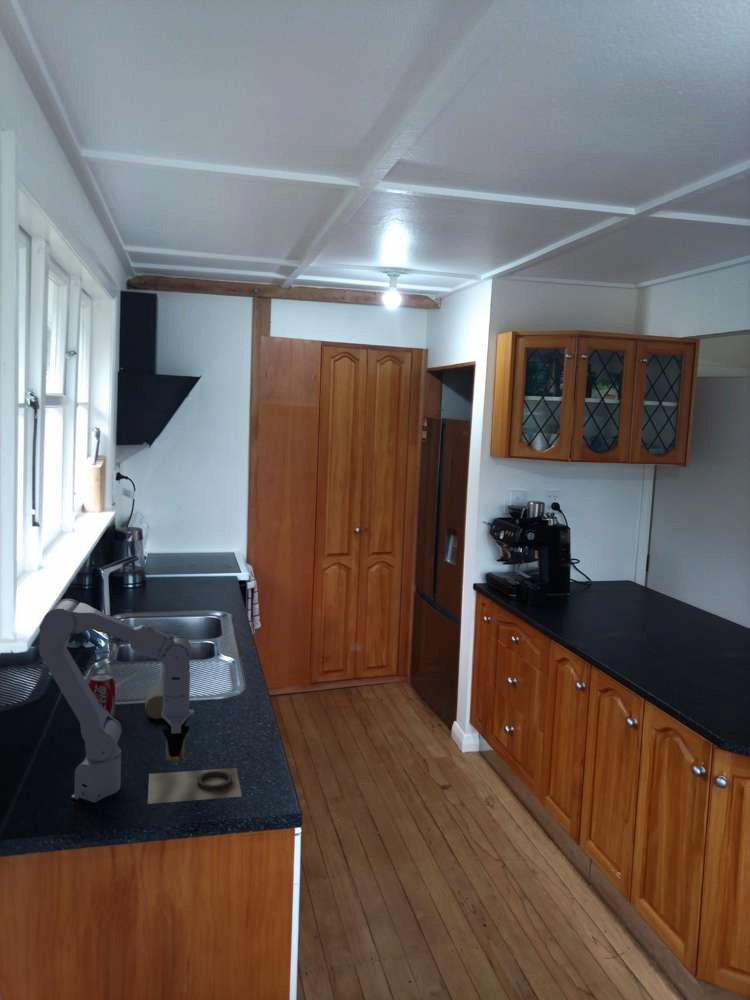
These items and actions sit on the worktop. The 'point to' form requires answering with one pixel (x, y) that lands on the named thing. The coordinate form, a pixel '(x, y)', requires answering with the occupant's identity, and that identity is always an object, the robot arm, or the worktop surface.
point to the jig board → (193, 785)
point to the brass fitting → (175, 757)
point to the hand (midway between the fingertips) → (174, 751)
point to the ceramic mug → (154, 701)
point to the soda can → (104, 691)
